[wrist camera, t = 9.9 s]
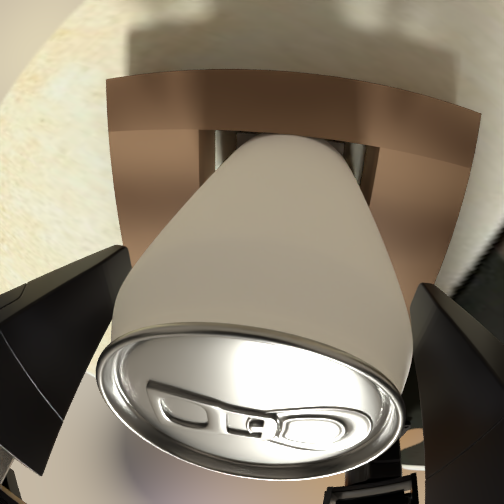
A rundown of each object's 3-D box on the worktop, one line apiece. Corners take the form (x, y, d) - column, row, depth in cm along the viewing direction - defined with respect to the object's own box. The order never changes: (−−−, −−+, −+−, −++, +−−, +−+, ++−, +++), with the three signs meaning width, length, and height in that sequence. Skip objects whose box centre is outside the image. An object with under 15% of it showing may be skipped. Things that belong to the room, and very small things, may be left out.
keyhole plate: (359, 394, 23) (361, 419, 21) (171, 368, 24) (161, 391, 22) (456, 107, 11) (481, 113, 9) (133, 77, 13) (106, 79, 11)
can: (341, 257, 16) (357, 489, 6) (222, 241, 17) (126, 451, 7) (364, 137, 13) (511, 327, 3) (224, 121, 14) (21, 258, 3)
